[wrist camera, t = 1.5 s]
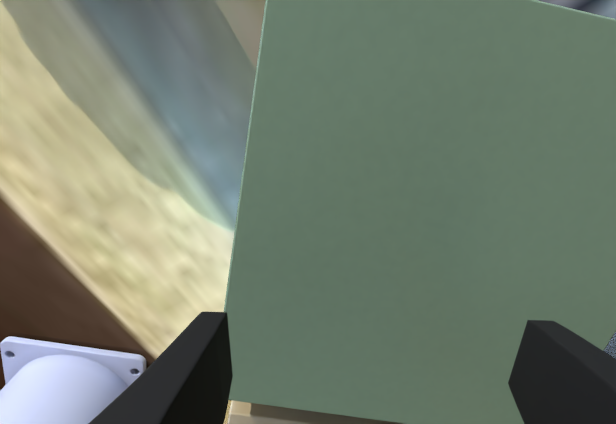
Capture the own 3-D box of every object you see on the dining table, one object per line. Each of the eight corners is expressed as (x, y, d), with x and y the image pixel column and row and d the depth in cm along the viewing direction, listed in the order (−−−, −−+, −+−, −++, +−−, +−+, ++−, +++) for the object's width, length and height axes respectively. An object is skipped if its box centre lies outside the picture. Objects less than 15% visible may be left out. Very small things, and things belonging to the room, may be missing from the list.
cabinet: (458, 307, 21) (546, 443, 13) (247, 272, 20) (211, 398, 12) (561, 62, 16) (788, 59, 8) (289, 1, 15) (274, -64, 7)
